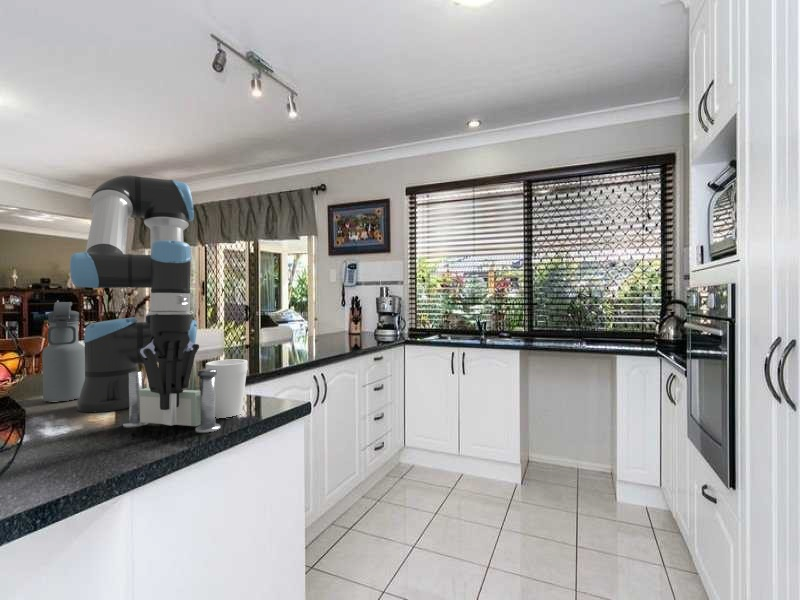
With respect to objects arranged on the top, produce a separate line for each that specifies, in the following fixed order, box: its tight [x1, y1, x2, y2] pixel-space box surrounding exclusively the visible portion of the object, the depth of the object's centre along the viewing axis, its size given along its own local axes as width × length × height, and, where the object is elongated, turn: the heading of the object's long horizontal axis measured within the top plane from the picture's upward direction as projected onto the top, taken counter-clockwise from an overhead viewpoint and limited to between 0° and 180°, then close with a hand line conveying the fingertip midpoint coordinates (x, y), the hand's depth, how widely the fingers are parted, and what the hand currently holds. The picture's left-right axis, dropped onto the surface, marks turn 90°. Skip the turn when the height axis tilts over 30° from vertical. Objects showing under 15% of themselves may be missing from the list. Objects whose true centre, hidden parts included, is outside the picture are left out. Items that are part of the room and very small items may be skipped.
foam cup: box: [205, 358, 249, 419], centre depth 103 cm, size 10×9×13 cm
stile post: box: [194, 368, 222, 434], centre depth 92 cm, size 5×5×13 cm
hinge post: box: [122, 370, 149, 429], centre depth 96 cm, size 5×5×12 cm
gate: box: [139, 387, 200, 427], centre depth 94 cm, size 15×2×7 cm, turn 78°
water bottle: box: [41, 301, 85, 402], centre depth 121 cm, size 10×10×28 cm
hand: (169, 424), depth 89 cm, fingers closed
